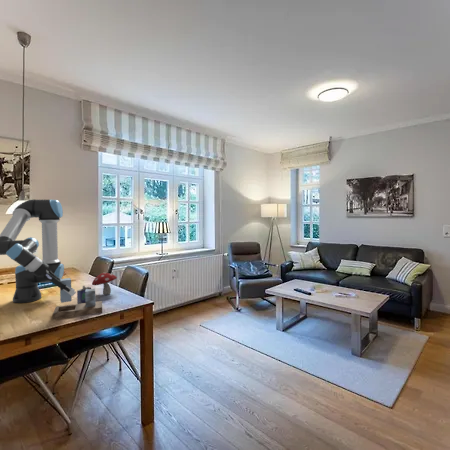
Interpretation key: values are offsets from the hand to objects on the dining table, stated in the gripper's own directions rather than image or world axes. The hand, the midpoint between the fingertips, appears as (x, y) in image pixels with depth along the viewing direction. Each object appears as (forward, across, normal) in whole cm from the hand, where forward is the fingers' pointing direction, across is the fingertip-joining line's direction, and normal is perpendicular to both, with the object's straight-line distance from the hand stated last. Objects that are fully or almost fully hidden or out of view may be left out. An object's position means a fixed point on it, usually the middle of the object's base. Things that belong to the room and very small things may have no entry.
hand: (73, 292), depth 158 cm
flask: (+13, -16, -3) cm, 21 cm away
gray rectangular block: (0, 0, -5) cm, 5 cm away
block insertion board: (+10, 0, -6) cm, 12 cm away
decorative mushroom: (+23, -28, +7) cm, 37 cm away
